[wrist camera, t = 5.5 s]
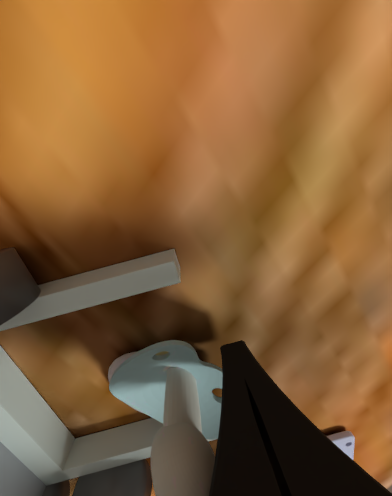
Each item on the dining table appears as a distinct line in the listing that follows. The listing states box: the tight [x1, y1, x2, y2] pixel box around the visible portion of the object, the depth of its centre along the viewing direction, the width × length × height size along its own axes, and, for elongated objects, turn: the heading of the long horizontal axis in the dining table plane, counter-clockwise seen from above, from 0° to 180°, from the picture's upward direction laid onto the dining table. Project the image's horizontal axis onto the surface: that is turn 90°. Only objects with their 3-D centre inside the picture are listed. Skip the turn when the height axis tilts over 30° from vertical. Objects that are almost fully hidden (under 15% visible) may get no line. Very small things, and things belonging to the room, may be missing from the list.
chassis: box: [0, 247, 216, 496], centre depth 9 cm, size 16×15×4 cm
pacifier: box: [108, 340, 223, 496], centre depth 9 cm, size 7×6×6 cm
